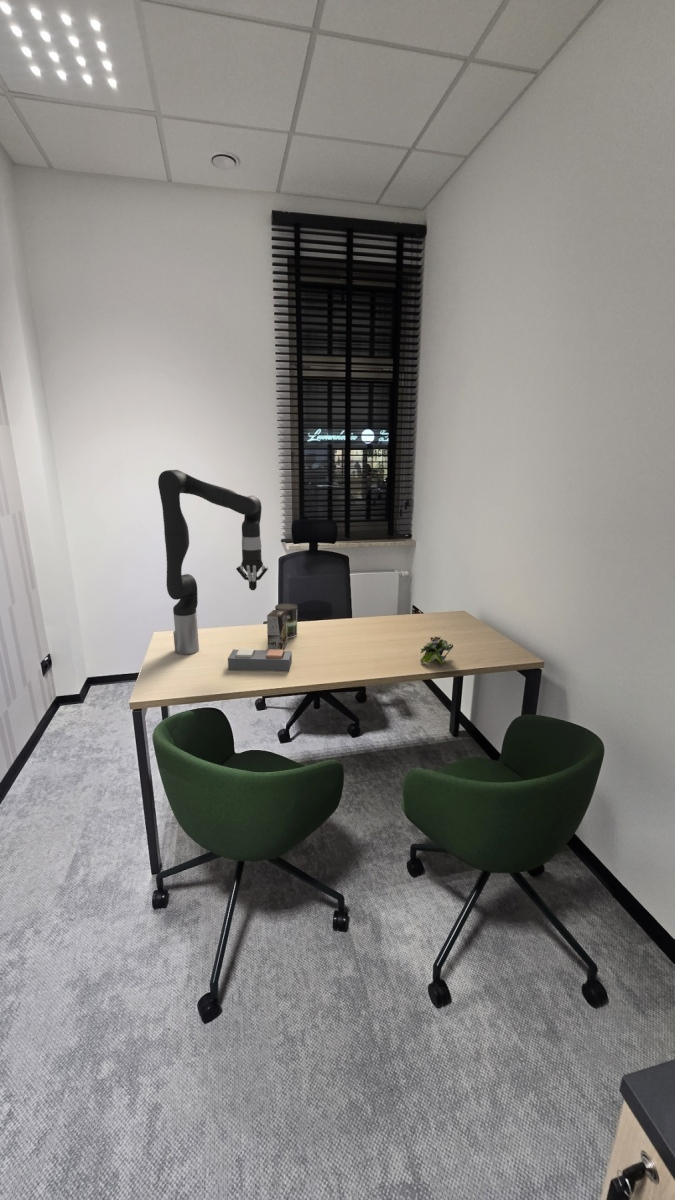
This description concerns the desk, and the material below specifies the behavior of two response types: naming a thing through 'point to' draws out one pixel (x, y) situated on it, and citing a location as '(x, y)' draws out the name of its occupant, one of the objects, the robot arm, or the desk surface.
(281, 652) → the terracotta key
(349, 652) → the desk surface
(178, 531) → the robot arm
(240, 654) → the offwhite key
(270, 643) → the coffee box
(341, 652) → the desk surface
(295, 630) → the coffee can
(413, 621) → the desk surface
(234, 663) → the key console
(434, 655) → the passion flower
